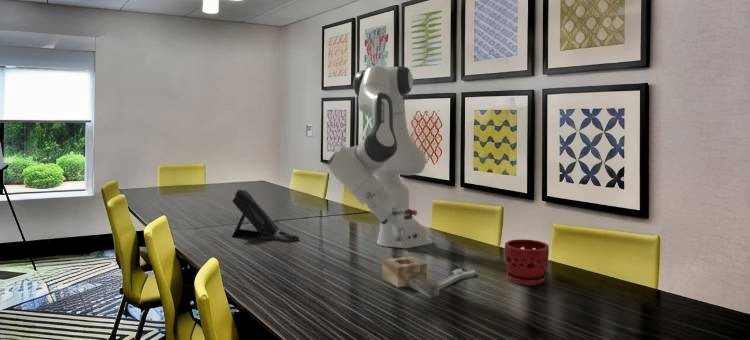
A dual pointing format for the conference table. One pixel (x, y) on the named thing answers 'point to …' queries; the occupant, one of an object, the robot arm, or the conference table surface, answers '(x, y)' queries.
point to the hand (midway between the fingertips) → (400, 224)
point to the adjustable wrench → (455, 277)
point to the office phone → (258, 218)
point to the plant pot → (526, 261)
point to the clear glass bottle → (399, 232)
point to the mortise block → (409, 275)
